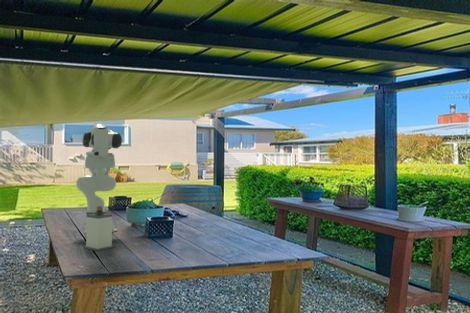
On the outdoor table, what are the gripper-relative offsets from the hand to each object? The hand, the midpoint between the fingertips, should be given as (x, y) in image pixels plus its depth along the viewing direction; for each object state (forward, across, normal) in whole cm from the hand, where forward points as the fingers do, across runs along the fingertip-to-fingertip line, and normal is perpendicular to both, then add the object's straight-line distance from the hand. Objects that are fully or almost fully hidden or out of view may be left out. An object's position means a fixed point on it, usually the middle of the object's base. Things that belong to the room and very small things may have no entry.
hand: (100, 175), depth 266 cm
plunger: (+36, +10, +12) cm, 39 cm away
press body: (+41, +10, +12) cm, 44 cm away
